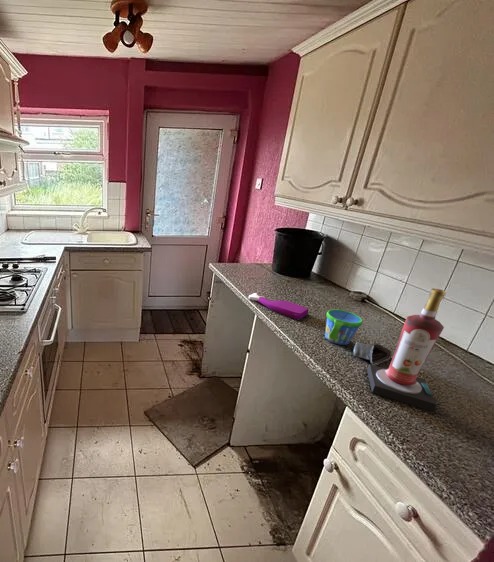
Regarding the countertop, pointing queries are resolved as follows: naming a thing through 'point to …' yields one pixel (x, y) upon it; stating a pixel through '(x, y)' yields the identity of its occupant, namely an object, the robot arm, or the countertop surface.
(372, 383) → the scale
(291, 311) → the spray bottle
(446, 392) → the countertop surface
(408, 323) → the liquor
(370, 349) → the grey open container
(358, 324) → the snack cup
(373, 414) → the countertop surface
